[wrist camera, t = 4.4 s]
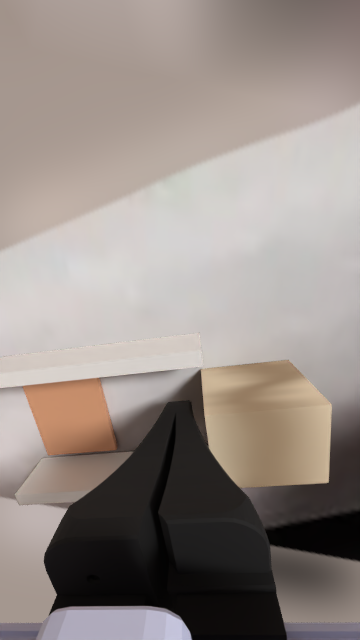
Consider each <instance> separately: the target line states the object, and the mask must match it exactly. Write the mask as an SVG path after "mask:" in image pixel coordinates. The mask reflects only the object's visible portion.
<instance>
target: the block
mask: <svg viewBox="0 0 360 640" xmlns="http://www.w3.org/2000/svg"><path fill="white" fill-rule="evenodd" d="M201 378H202V390H203V402H204V414H205V422H206V430H207V437H208V444H209V449H210V451H211V452H212V454H213V455H214V457H215V458H216V460H217V461H218V462H219V464H220V465H221V466H222V468H223V469H224V470H225V472H226V473H227V474H228V475H229V477H230V478H231V479H232V480H233V481H234V482H235V484H236V485H237V486H238V487H239V488H247V487H265V486H282V485H300V484H318V483H329V462H330V436H331V410H332V405H331V404H330V402H329V401H328V400H327V399H326V398H325V397H324V396H323V395H322V394H321V393H320V392H319V391H318V390H317V389H316V388H315V387H314V386H313V385H312V384H311V383H310V382H309V381H308V380H307V379H306V378H305V377H304V376H303V375H302V374H301V372H300V371H299V370H298V369H297V368H296V367H295V366H294V365H293V364H292V363H291V362H290V361H289V360H283V361H274V362H264V363H255V364H245V365H236V366H226V367H217V368H207V369H201Z"/></svg>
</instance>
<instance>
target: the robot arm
mask: <svg viewBox="0 0 360 640" xmlns="http://www.w3.org/2000/svg"><path fill="white" fill-rule="evenodd" d="M44 564H45V568H46V571H47V574H48V575H49V578H50V580H51V582H52V585H53V587H54V589H55V591H56V593H57V596H56V599H55V601H54V604H53V606H52V609H51V611H50V614H49V616H48V617H47V618H46V619H45V620H44V621H43V623H0V640H360V623H359V622H358V623H357V622H355V623H354V622H352V623H350V622H348V623H347V622H345V623H284V622H283V618H282V614H281V610H280V606H279V602H278V599H277V594H276V586H275V582H274V578H273V574H272V570H271V555H270V544H269V540H268V537H267V534H266V532H265V529H264V527H263V524H262V522H261V520H260V518H259V516H258V514H257V512H256V510H255V508H254V506H253V504H252V503H251V501H250V499H249V497H248V496H247V495H246V494H245V493H244V492H243V491H242V490H241V489H240V488H239V487H238V486H237V485H236V484H235V482H234V481H233V480H232V479H231V478H230V477H229V475H228V474H227V473H226V472H225V470H224V469H223V468H222V466H221V465H220V464H219V462H218V461H217V460H216V458H215V457H214V455H213V454H212V452H211V451H210V449H209V447H208V446H207V444H206V442H205V441H204V439H203V437H202V435H201V433H200V431H199V429H198V426H197V424H196V421H195V419H194V416H193V411H192V405H191V402H190V401H189V400H188V401H177V402H168V403H167V405H166V406H165V408H164V410H163V412H162V413H161V415H160V417H159V418H158V420H157V421H156V423H155V424H154V426H153V428H152V429H151V430H150V432H149V433H148V435H147V436H146V437H145V439H144V440H143V441H142V443H141V444H140V445H139V446H138V448H137V449H136V450H135V451H134V452H133V453H132V454H131V456H130V457H129V458H128V459H127V460H126V461H125V462H124V463H123V464H122V465H121V466H120V467H119V468H118V469H117V470H115V471H114V472H113V473H112V474H111V475H110V476H109V477H108V478H106V479H105V480H104V481H103V482H102V483H100V484H99V485H98V486H97V487H95V488H94V489H93V490H92V491H90V492H89V493H87V494H86V495H85V496H83V497H82V498H80V499H79V500H78V501H76V502H75V503H73V504H72V505H70V506H69V508H68V510H67V511H66V513H65V515H64V517H63V518H62V520H61V522H60V524H59V526H58V528H57V530H56V532H55V534H54V536H53V538H52V540H51V542H50V544H49V546H48V548H47V550H46V552H45V556H44Z"/></svg>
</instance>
